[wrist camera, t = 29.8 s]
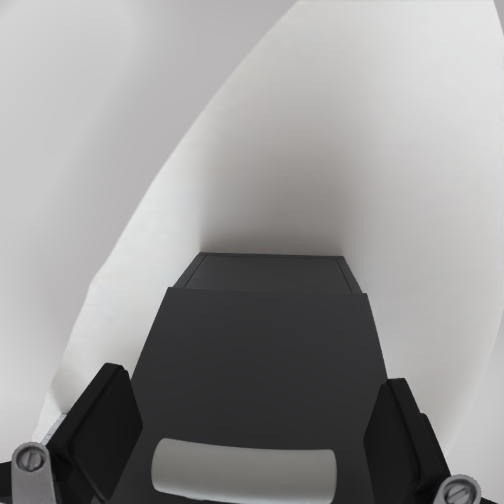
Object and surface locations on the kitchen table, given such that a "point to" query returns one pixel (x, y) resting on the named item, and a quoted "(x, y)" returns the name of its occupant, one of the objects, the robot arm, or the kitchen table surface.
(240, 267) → the dark grey open box
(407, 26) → the kitchen table surface
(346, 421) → the lid
